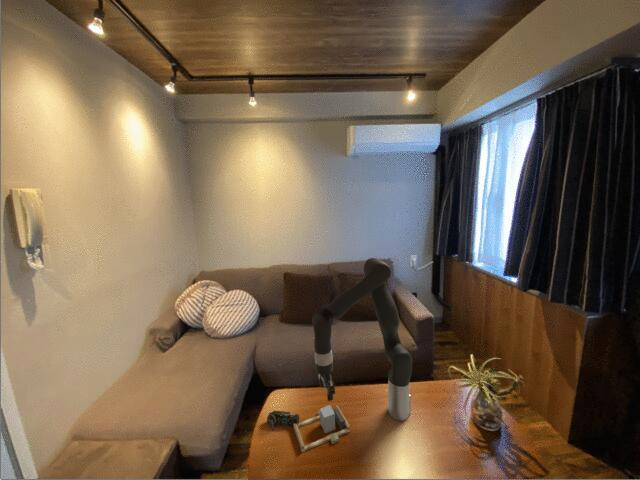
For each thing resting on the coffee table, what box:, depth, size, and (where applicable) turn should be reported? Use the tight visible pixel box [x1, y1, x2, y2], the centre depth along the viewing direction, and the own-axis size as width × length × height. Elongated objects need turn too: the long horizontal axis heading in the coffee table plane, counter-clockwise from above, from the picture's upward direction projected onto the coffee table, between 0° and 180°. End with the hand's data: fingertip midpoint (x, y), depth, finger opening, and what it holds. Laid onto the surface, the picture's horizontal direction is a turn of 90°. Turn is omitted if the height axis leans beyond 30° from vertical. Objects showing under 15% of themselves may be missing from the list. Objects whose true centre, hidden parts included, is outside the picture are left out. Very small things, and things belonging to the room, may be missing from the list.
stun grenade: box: [267, 410, 300, 431], centre depth 114 cm, size 6×6×14 cm
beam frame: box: [292, 405, 351, 453], centre depth 111 cm, size 22×16×4 cm
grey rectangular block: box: [319, 404, 336, 434], centre depth 112 cm, size 5×5×8 cm
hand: (326, 392), depth 110 cm, fingers open, 8 cm apart
